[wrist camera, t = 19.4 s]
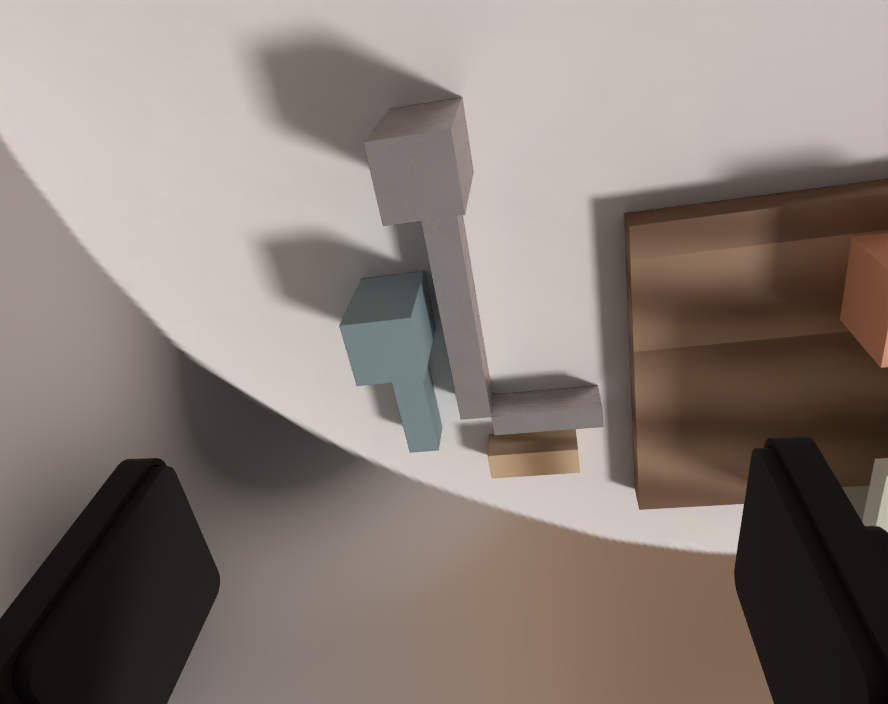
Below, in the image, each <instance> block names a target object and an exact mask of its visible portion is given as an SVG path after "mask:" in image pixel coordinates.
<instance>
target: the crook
mask: <svg viewBox="0 0 888 704" xmlns="http://www.w3.org/2000/svg"><path fill="white" fill-rule="evenodd" d="M364 146H365V151H366V155H367V159H368V164H369V168H370V172H371V177H372V181H373V185H374V190H375V194H376V198H377V203H378V207H379V211H380V216H381V220H382V224H383V226H388V225H395V224H402V223H410V222H417V221H421V223H422V228H423V233H424V238H425V243H426V248H427V253H428V258H429V263H430V268H431V273H432V278H433V283H434V288H435V293H436V298H437V303H438V308H439V313H440V318H441V323H442V328H443V333H444V338H445V343H446V348H447V353H448V358H449V363H450V368H451V373H452V378H453V383H454V388H455V393H456V398H457V403H458V408H459V413H460V418H461V419H474V418H486V417H491V418H492V424H493V430H494V435H505V434H518V433H531V432H544V431H557V430H570V429H583V428H596V427H603V413H602V404H601V399H600V393H599V388H598V386H587V387H575V388H564V389H552V390H541V391H529V392H518V393H506V394H495V395H493V394H492V388H491V382H490V376H489V370H488V364H487V358H486V352H485V346H484V340H483V334H482V328H481V322H480V316H479V310H478V304H477V297H476V291H475V285H474V279H473V273H472V267H471V261H470V255H469V249H468V243H467V237H466V231H465V225H464V219H463V215H465V213H466V208H467V203H468V198H469V193H470V188H471V183H472V177H473V172H474V171H473V164H472V157H471V151H470V144H469V138H468V131H467V124H466V118H465V111H464V105H463V98H462V97H461V98H455V99H448V100H442V101H436V102H430V103H424V104H418V105H412V106H406V107H400V108H394V109H389V110H388V112H387V113H386V114H385V115H384V117H383V118H382V119H381V121H380V122H379V123H378V124H377V126H376V127H375V128H374V130H373V131H372V132H371V133H370V135H369V136H368V137H367V139H366V140H365V141H364Z"/></svg>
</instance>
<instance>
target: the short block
mask: <svg viewBox="0 0 888 704" xmlns="http://www.w3.org/2000/svg"><path fill="white" fill-rule="evenodd" d="M488 461H489V466H490V472H491V477H492V478H505V477H520V476H535V475H551V474H566V473H580V467H579V457H578V447H577V438H576V429H570V430H557V431H544V432H531V433H518V434H505V435H494V434H492V435H489V443H488Z"/></svg>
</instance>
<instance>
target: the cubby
mask: <svg viewBox="0 0 888 704" xmlns="http://www.w3.org/2000/svg"><path fill="white" fill-rule="evenodd" d="M842 488H843V490H844V492H845V493H846V495H847V497H848V499H849V500H850V502H851V504H852V505H853V507H854V509H855V510H856V512H857V514H858V515H859V517H860V519H861V520H862V522H863V524H864V525H865V526H879V527H881V528H883V529H884V530H886V531H887V532H888V458H881V459H875V461H874V466H873V471H872V476H871V481H870V485H869V486H852V487H842Z"/></svg>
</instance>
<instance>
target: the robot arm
mask: <svg viewBox="0 0 888 704" xmlns="http://www.w3.org/2000/svg"><path fill="white" fill-rule="evenodd" d="M734 576H735V586H736V590H737V594H738V597H739V600H740V603H741V606H742V609H743V612H744V615H745V618H746V621H747V624H748V627H749V630H750V633H751V636H752V639H753V642H754V645H755V648H756V651H757V654H758V657H759V660H760V663H761V666H762V669H763V672H764V674H765V678H766V681H767V684H768V687H769V690H770V693H771V695H772V699H773V701H774V704H888V532H887V531H886V530H884V529H883V528H881V527H879V526H865V525H864V524H863V522H862V520H861V519H860V517H859V515H858V514H857V512H856V510H855V509H854V507H853V505H852V504H851V502H850V500H849V499H848V497H847V495H846V493H845V492H844V490H843V488H842V487H841V485H840V483H839V482H838V480H837V478H836V477H835V475H834V473H833V472H832V470H831V468H830V467H829V465H828V463H827V461H826V460H825V458H824V456H823V455H822V453H821V451H820V450H819V448H818V446H817V445H816V443H815V442H814V440H813V439H812V438H810V437H778V438H768V439H767V440H766V442H765V444H764V448H754V449H753V451H752V455H751V461H750V468H749V475H748V481H747V488H746V495H745V502H744V508H743V515H742V522H741V528H740V535H739V542H738V549H737V555H736V562H735V570H734ZM219 586H220V575H219V572H218V569H217V567H216V565H215V562H214V560H213V558H212V555H211V553H210V551H209V548H208V546H207V544H206V542H205V539H204V537H203V535H202V533H201V530H200V528H199V525H198V523H197V521H196V518H195V516H194V514H193V512H192V509H191V507H190V505H189V502H188V500H187V498H186V495H185V493H184V491H183V488H182V486H181V484H180V482H179V479H178V477H177V474H176V472H175V471H174V469H173V468H172V467H168V466H167V465H166V464H165V462H164V461H162V460H161V459H158V458H148V459H127V460H124V461H122V462H121V463H120V464H119V465H118V466H117V467H116V469H115V470H114V471H113V473H112V474H111V475H110V476H109V478H108V479H107V480H106V482H105V483H104V484H103V486H102V487H101V488H100V490H99V491H98V492H97V493H96V495H95V496H94V497H93V499H92V500H91V501H90V503H89V504H88V505H87V507H86V508H85V509H84V510H83V512H82V513H81V514H80V515H79V517H78V518H77V519H76V521H75V522H74V524H73V525H72V526H71V527H70V529H69V530H68V531H67V533H66V534H65V535H64V536H63V538H62V539H61V540H60V542H59V543H58V544H57V546H56V547H55V548H54V549H53V551H52V552H51V553H50V555H49V556H48V557H47V558H46V560H45V561H44V562H43V564H42V565H41V566H40V568H39V569H38V570H37V571H36V573H35V574H34V575H33V577H32V578H31V579H30V581H29V582H28V583H27V584H26V586H25V587H24V588H23V590H22V591H21V592H20V594H19V595H18V597H16V599H15V600H14V601H13V603H12V604H11V605H10V607H9V608H8V609H7V610H6V612H5V613H4V615H3V616H2V617H1V618H0V704H167V702H168V700H169V698H170V696H171V694H172V692H173V689H174V687H175V685H176V683H177V681H178V679H179V677H180V674H181V672H182V670H183V668H184V666H185V664H186V661H187V659H188V657H189V655H190V653H191V651H192V648H193V646H194V644H195V642H196V640H197V638H198V635H199V633H200V631H201V629H202V627H203V625H204V622H205V620H206V618H207V616H208V614H209V612H210V610H211V607H212V605H213V603H214V601H215V599H216V596H217V594H218V591H219Z"/></svg>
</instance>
